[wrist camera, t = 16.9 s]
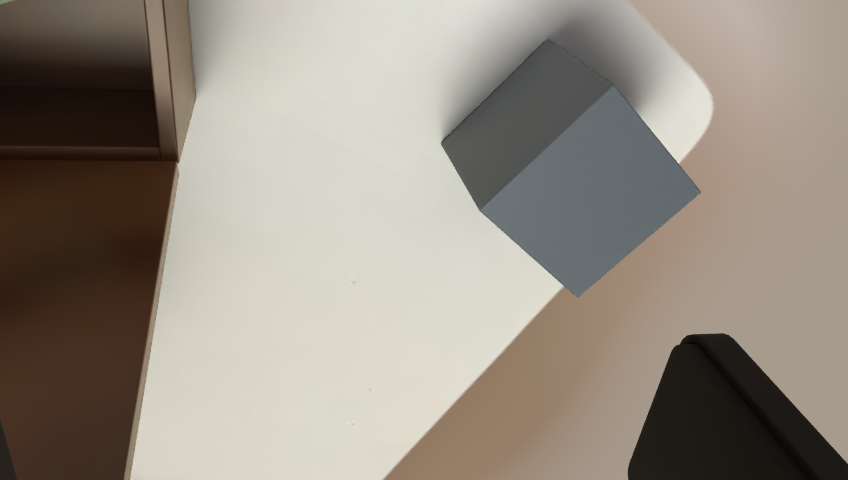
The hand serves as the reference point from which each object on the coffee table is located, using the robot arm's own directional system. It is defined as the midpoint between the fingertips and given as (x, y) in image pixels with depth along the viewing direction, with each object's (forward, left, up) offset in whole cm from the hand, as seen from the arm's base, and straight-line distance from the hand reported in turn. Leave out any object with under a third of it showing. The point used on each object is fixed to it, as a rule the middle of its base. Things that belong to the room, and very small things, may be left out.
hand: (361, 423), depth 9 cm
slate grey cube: (-4, +14, -27) cm, 31 cm away
